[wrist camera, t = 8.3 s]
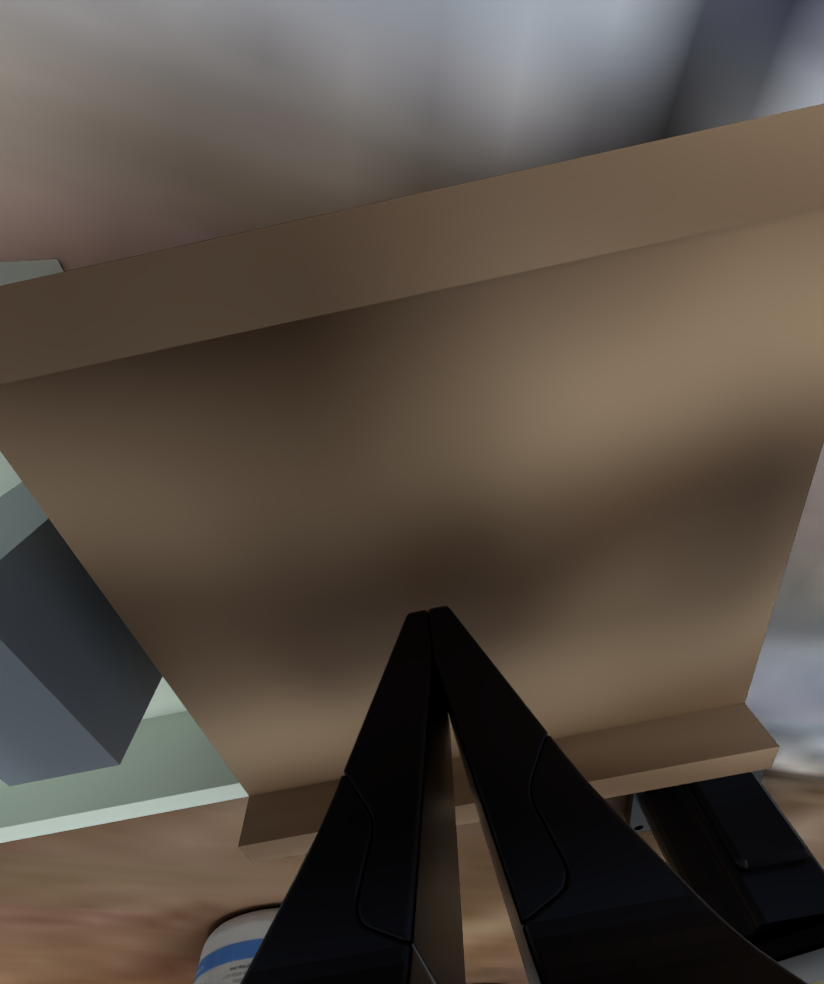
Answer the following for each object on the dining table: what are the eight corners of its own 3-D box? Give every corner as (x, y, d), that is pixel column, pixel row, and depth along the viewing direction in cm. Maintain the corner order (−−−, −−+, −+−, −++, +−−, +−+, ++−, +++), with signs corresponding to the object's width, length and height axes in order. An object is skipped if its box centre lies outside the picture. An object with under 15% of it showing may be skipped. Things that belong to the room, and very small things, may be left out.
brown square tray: (651, 610, 17) (770, 768, 12) (287, 681, 17) (252, 863, 12) (704, 149, 10) (1055, 51, 5) (85, 285, 10) (-197, 329, 5)
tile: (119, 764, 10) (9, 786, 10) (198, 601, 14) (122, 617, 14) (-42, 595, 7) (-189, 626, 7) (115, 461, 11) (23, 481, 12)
